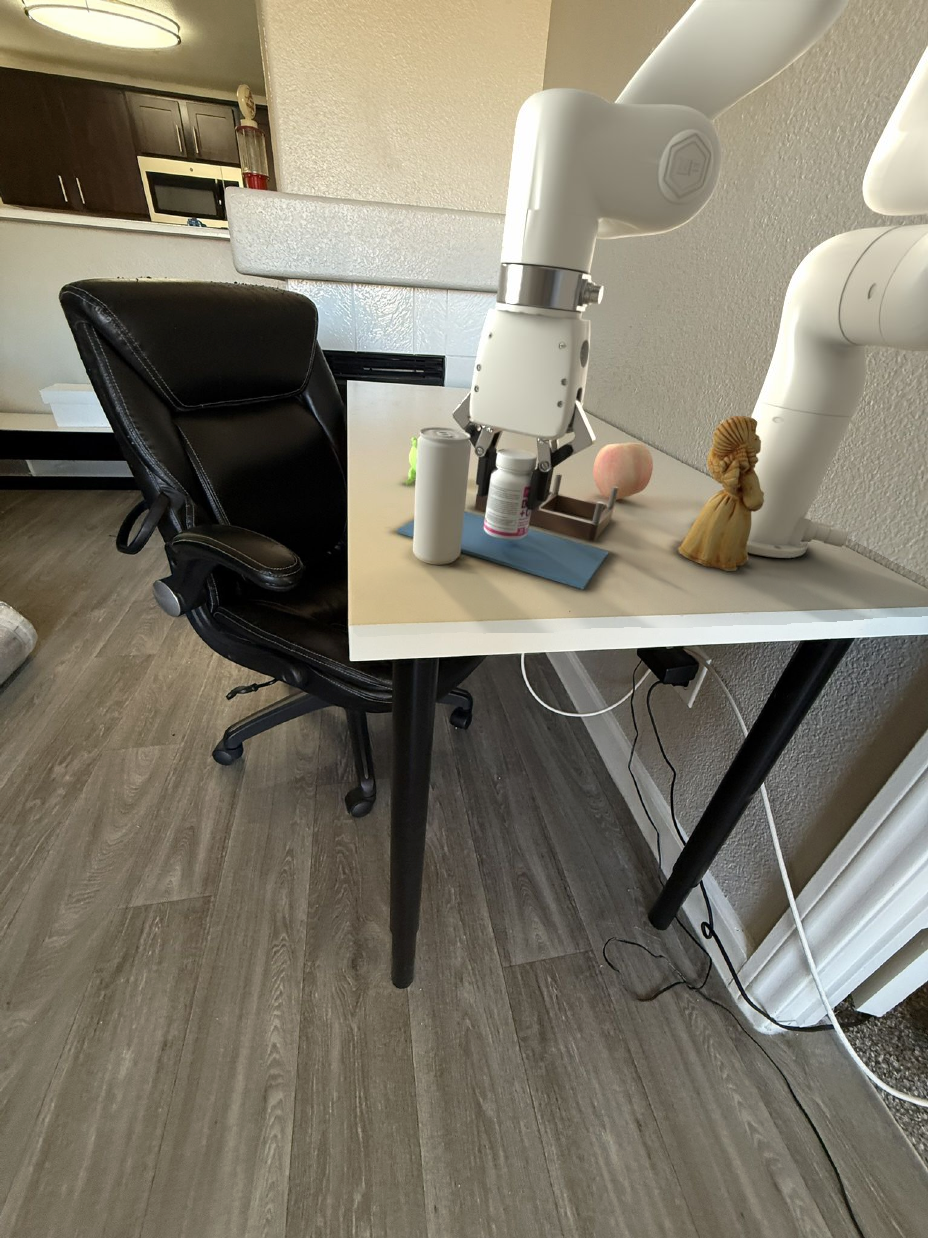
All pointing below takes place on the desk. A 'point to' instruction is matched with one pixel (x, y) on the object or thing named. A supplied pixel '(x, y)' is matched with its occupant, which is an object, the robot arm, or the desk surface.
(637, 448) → the peach
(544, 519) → the brown divided tray
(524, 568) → the mat
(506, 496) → the pill bottle
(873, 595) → the desk surface
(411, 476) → the green toy figure
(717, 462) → the figurine
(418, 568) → the desk surface
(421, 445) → the beverage can
